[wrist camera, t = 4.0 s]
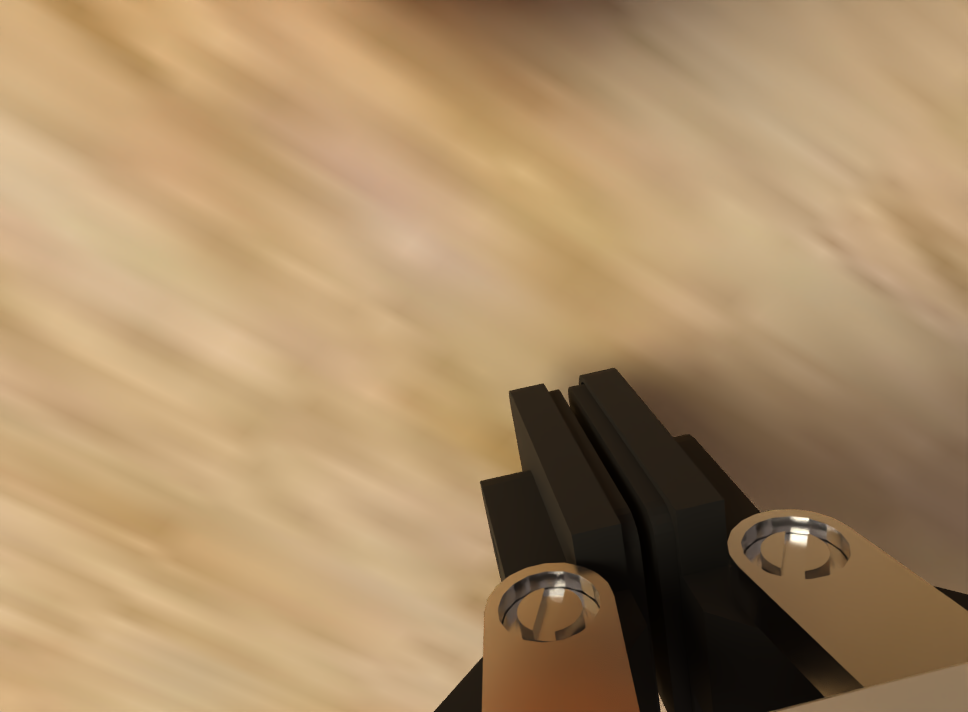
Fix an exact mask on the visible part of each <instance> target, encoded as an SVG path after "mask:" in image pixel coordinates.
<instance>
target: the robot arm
mask: <svg viewBox="0 0 968 712" xmlns="http://www.w3.org/2000/svg"><path fill="white" fill-rule="evenodd" d="M568 395H569V402H570V407H569V405H568V404H567V402H566V400H565V399H564V397H563V395H562V393H561V392H560V390H554V391H550V392H548V390H547V388H546V387H545V385H544V384H539V385H534V386H529V387H525V388H520V389H516V390H511V391H509V398H510V405H511V410H512V416H513V421H514V427H515V432H516V438H517V443H518V449H519V454H520V460H521V465H522V471H523V472H518V473H514V474H510V475H505V476H501V477H496V478H492V479H487V480H483V481H480V484H481V489H482V495H483V500H484V504H485V509H486V514H487V519H488V524H489V528H490V533H491V538H492V543H493V547H494V552H495V556H496V561H497V565H498V569H499V574H500V578H501V583H500V584H499V585H497V586H496V587H495V589H494V590H493V592H492V593H491V595H490V596H489V597H488V599H487V603H486V607H485V611H484V636H483V657H482V658H481V659H480V660H479V662H478V663H477V664H476V665H475V666H474V667H473V668H472V669H471V671H470V672H469V673H468V674H467V675H466V676H465V677H464V678H463V680H462V681H461V682H460V683H459V684H458V685H457V686H456V687H455V689H454V690H453V691H452V692H451V693H450V694H449V695H448V696H447V698H446V699H445V700H444V701H443V702H442V703H441V704H440V705H439V706H438V708H437V709H436V710H435V711H434V712H661V711H660V703H659V695H660V697H661V699H662V702H663V704H664V706H665V708H666V710H667V712H968V595H967V594H963V593H959V592H955V591H951V590H947V589H943V588H939V587H935V586H932V585H931V584H929V583H928V582H926V581H925V580H924V579H922V578H921V577H919V576H918V575H917V574H915V573H914V572H912V571H911V570H910V569H908V568H907V567H905V566H904V565H903V564H901V563H900V562H898V561H897V560H896V559H894V558H893V557H891V556H890V555H889V554H887V553H886V552H884V551H883V550H882V549H880V548H879V547H877V546H876V545H875V544H873V543H872V542H870V541H869V540H868V539H866V538H865V537H863V536H862V535H860V534H859V533H858V532H856V531H855V530H853V529H852V528H851V527H849V526H847V525H846V524H844V523H842V522H840V521H838V520H836V519H835V518H833V517H829V516H826V515H823V514H820V513H816V512H813V511H805V510H797V509H783V510H771V511H766V512H762V513H760V512H759V510H758V509H757V508H756V507H755V506H754V505H753V504H752V503H751V501H750V500H749V499H748V498H747V497H746V496H745V495H744V494H743V492H742V491H741V490H740V489H739V488H738V487H737V486H736V485H735V483H734V482H733V481H732V480H731V479H730V478H729V477H728V476H727V474H726V473H725V472H724V471H723V470H722V469H721V468H720V467H719V465H718V464H717V463H716V462H715V461H714V460H713V459H712V458H711V456H710V455H709V454H708V453H707V452H706V451H705V450H704V449H703V447H702V446H701V445H700V444H699V443H698V442H697V441H696V440H695V438H693V437H692V436H691V435H682V436H678V437H672V436H671V435H670V433H669V432H668V431H667V430H666V429H665V427H664V426H663V425H662V424H661V423H660V421H659V420H658V419H657V418H656V417H655V415H654V414H653V413H652V412H651V410H650V409H649V408H648V407H647V406H646V404H645V403H644V402H643V401H642V400H641V398H640V397H639V396H638V395H637V394H636V392H635V391H634V390H633V389H632V388H631V386H630V385H629V384H628V383H627V382H626V380H625V379H624V378H623V377H622V376H621V374H620V373H619V372H618V371H617V370H616V369H615V368H612V369H607V370H602V371H598V372H593V373H589V374H584V375H580V377H579V385H577V386H572V387H569V389H568ZM658 693H659V695H658Z"/></svg>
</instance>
